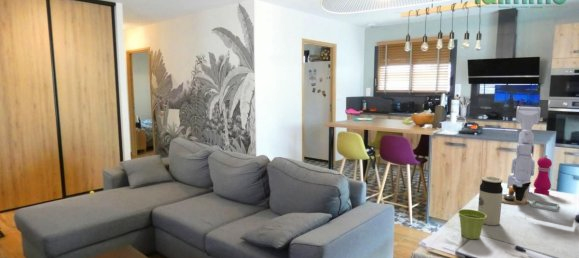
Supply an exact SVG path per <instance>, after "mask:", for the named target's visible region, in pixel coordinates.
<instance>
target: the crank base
mask: <svg viewBox="0 0 579 258" xmlns="http://www.w3.org/2000/svg"><path fill="white" fill-rule="evenodd" d="M504 195H505V194H504V193H502V203H501V204H504V205H509V206H519V207H520V206H527V205H529V204H530V202H529V200H528V199H526V202H525V204H523V203H518V202H514V200H515V195H514V200H506V199H504Z"/></svg>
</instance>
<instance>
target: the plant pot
mask: <svg viewBox="0 0 579 258" xmlns="http://www.w3.org/2000/svg"><path fill="white" fill-rule="evenodd" d="M457 214H458V217H459V221H460V222H459V223H460V234H461V236H462V237H463V238H465V239H468V240H475V239H476V240H478V238H479V239H480V237H481V234H482V229H483V226H484V224H483V223H484V221H485V218H486V217H487V215H486V214H484V213H482V212H479V211H478V210H475V209H468V208H465V209H463V208H462V209H459V210H457Z"/></svg>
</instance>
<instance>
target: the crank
mask: <svg viewBox="0 0 579 258" xmlns="http://www.w3.org/2000/svg"><path fill="white" fill-rule="evenodd" d="M514 196H515V191H514V188H513V186H509V189H508V194H507V193H506V194H505V195H504V199H506V200H514Z"/></svg>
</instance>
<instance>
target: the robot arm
mask: <svg viewBox="0 0 579 258" xmlns="http://www.w3.org/2000/svg"><path fill="white" fill-rule="evenodd" d="M541 109H542V108H541V107H540V106H537V107H535V106H519V105H518V106H516V114H515V119H516V123H518V124H520V127H521V131H520V132H519V133H518V143H517V145H516V151H515V152H516V153H515V155H516V156H515V157H513V159H512V161H511V168H510V170H511V171H510V174H509V175H508V176H507V184H506V189H508V190H509V186H513V188H514V191H515V193H514V196H516V200H517V201H522V199H523V196H524V193H525V191H526V189H527V193H532V192H531V191H530V186H531V185H532V182H531V178H532V177H534V175H535V169H536V164H535V163H536V162H535V160H534V159H533V157H534V154H535V143H534V139H535V138H534V137H535V136H534V135H535V134H534V132H532V129H533V126H534V125H537V124H538V123H540V118H541ZM532 194H533V193H532Z"/></svg>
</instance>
